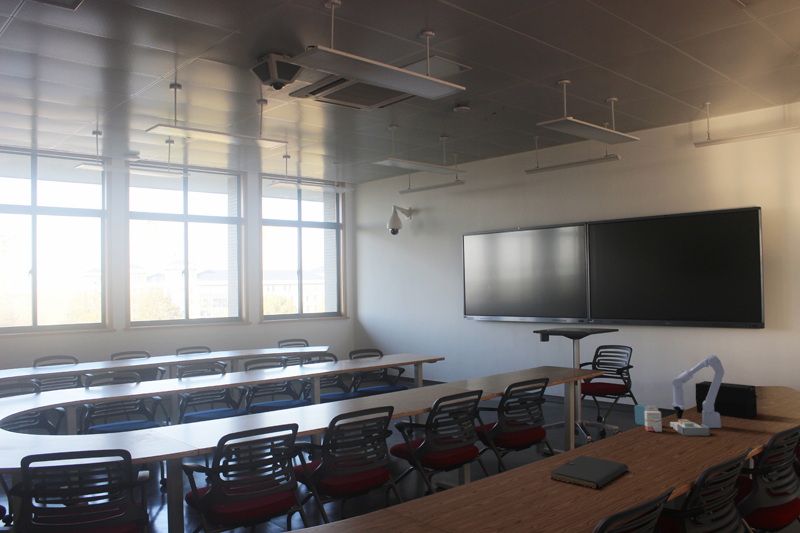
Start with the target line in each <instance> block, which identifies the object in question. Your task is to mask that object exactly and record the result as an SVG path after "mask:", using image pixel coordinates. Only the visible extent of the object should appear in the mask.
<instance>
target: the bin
mask: <svg viewBox="0 0 800 533" xmlns="http://www.w3.org/2000/svg"><path fill="white" fill-rule="evenodd" d="M702 424H703V423H702ZM702 427H703V428H683V427H682V426H680V425H679V424H677V428H678V431H677V432H678V433H679V434H680V435H682V436H685V437H686V436H688V437H690V436H695V437H696V436H697V437H698V436H703V437H705V436H706V437H707V436H711V428H709V427H708V426H706V425H704V424H703V426H702Z"/></svg>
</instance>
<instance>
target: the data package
mask: <svg viewBox="0 0 800 533" xmlns="http://www.w3.org/2000/svg"><path fill="white" fill-rule="evenodd" d="M645 406H649V405H646V404H636V405H634V407H633V408H634V419H635V420H634V421H635V424H637V425H641V426H645V415H644V411H645ZM649 409H654V408H652V407H651V408H649Z"/></svg>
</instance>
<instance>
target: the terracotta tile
mask: <svg viewBox="0 0 800 533" xmlns="http://www.w3.org/2000/svg"><path fill="white" fill-rule="evenodd" d="M677 419H678V418H677ZM677 422H678V423H680V424H682V422H691V421H690V420H688V419H686V418H684V419H683V418H682V419H678V420H677Z"/></svg>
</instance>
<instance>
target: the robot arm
mask: <svg viewBox="0 0 800 533" xmlns="http://www.w3.org/2000/svg"><path fill="white" fill-rule="evenodd" d="M709 367H711V368H712V370H713V371H714V375H713V379H712V381H711V382H712V384H711V387H710V389H709V392H708V395H707V397H706V400H705V401H704V402H703V404H702V405H703V411H702V413H701V417H702V423H701V424H700V426H701V427H703V424H704V425H706V426H708V427H709V428H710V429H721V428H722V424H721V416H720V414H719V413H718V412H715V411H714V402H715V398H716V395H717V393H718V390H719V387H720V384H721V383H722V382H723V381H722V380H723V378H724V375H725V369H724V367H723V364H722V362H721V360H720V358H719V357H718V356H716V355H714V354H711V355H709V356H708V357H706V358H704V359H702V360H701V361H699V363H696V365H694V366H693V367H692V368H690V369H686V370H682V372H681V373H680V374H679V375H676V377H675V378H673V379H672V394H673V395H672V398H673V402H672V403H671V406H673V410H674V412H675V415H676V418H677V419H683V413H684V411H685V403H684V389H683V384H686V383H688V381H690V380H691V379H693V378H694V375H695V374H696V373H697V372H699V371H701V370H702V369H704V368H709Z"/></svg>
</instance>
